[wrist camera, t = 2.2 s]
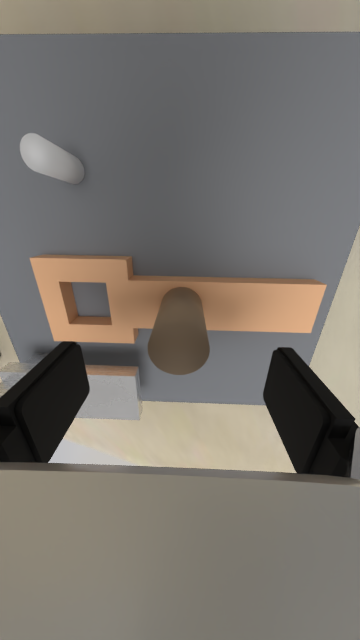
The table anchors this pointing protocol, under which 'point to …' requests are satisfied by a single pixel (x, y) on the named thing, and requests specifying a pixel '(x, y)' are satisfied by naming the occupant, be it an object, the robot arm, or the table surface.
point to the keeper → (93, 389)
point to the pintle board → (178, 179)
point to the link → (170, 307)
